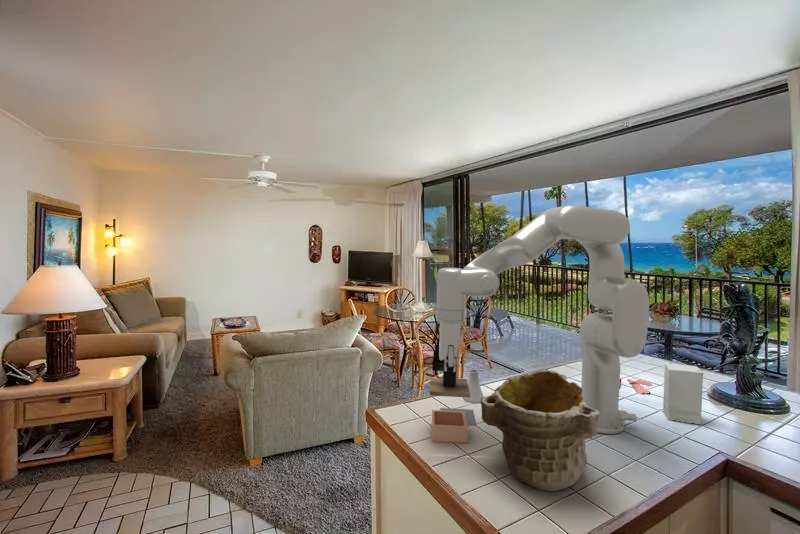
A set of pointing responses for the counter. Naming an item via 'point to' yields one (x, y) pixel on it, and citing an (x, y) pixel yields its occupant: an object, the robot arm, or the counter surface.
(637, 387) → the cloth
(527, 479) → the ceramic vessel
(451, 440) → the open square container
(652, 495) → the counter surface
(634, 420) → the robot arm
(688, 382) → the skincare box
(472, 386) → the flask
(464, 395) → the lid
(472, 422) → the mat
